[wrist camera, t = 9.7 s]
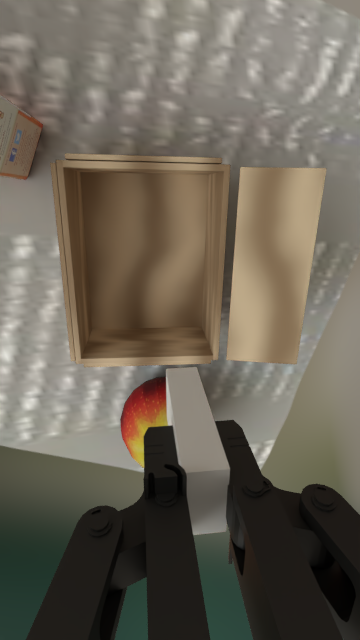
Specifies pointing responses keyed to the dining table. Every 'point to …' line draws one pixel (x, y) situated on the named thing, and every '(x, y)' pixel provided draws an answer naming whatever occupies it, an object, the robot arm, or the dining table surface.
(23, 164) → the cracker box
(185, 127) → the dining table surface
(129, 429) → the fruit
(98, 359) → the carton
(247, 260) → the flap
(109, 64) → the dining table surface
